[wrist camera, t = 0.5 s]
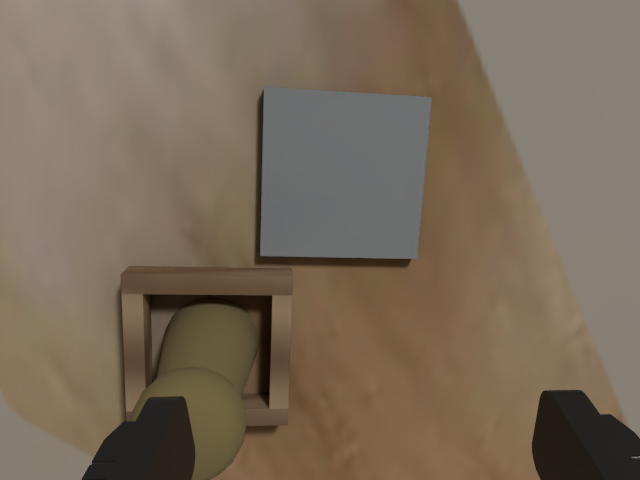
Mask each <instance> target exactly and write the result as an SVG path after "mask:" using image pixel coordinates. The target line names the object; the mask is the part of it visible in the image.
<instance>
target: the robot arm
mask: <svg viewBox="0 0 640 480" xmlns="http://www.w3.org/2000/svg"><path fill="white" fill-rule="evenodd" d="M532 453H533V459H534V464H535V467H536V470H537V473H538V475H539V477H540V479H541V480H640V439H639V437H638V436H637V435H636V434H635V433H634V432H633V431H632V430H631V429H629V428H628V427H627V426H625V425H624V424H623V423H621V422H620V421H619V420H617V419H616V418H615V417H613V416H612V415H611V414H605V415H600V414H599V412H598V411H597V409H596V408H595V407H594V405H593V404H592V403H591V401H590V400H589V398H588V397H587V396H586V395H585V393H584V392H582V391H581V390H549V391H543V392H542V394H541V396H540V400H539V406H538V412H537V417H536V423H535V429H534V435H533V441H532ZM194 466H195V444H194V438H193V433H192V428H191V423H190V418H189V413H188V407H187V403H186V400H185V398H184V397H183V396H171V397H150V398H148V399H147V401H146V402H145V404H144V406H143V408H142V410H141V412H140V414H139V416H138V418H137V419H136V421H124V422H123V423H122V424H121V425H120V426H118V427H117V428H116V429H115V430H114V431H113V432H112V433H111V434H110V435H109V436H108V437H107V438H106V439H105V440H104V441H103V443H102V445H101V446H100V448H99V450H98V452H97V453H96V455H95V457H94V459H93V460H92V465H90V466H89V467H88V469H87V471H86V472H85V474H84V476H83V478H82V480H191V479H192V476H193V472H194Z"/></svg>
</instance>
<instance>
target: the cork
mask: <svg viewBox="0 0 640 480" xmlns="http://www.w3.org/2000/svg"><path fill="white" fill-rule="evenodd" d="M258 343H259V339H258V333H257V327H256V326H255V324H254V322H253V320H252V318H251V316H250V315H249V314H248V313H247V312H246V311H245V310H244V309H243V308H241V307H240V306H239V305H237V304H235V303H233V302H231V301H228V300H226V299H219V298H213V297H211V298H204V299H197V300H195V301H193V302H191V303H189V304H186V305H184V306H183V307H182V308H181V309H180V310H179V311H178V312H176V313H175V314H174V315H173V317H172V318H171V320H170V322H169V324H168V326H167V328H166V332H165V337H164V343H163V348H162V353H161V358H160V363H159V369H158V374H157V379H156V380H155V381H154V382H153V383H151V384H150V385H149V386H148V387H147V388H146V389H145V390H144V391H143V392H142V394H141V396H140V398H139V399H138V401H137V403H136V405H135V407H134V409H133V411H132V413H131V416H130V421H136V419H137V418H138V416H139V414H140V412H141V410H142V408H143V406H144V404H145V402H146V401H147V399H148V398H150V397H171V396H183V397H184V398H185V400H186V403H187V407H188V413H189V418H190V423H191V428H192V433H193V438H194V444H195V466H194V472H193V476H192V479H191V480H210V479H212V478H214V477H216V476H217V475H219V474H220V473H221V472H222V471H224V470H225V469H226V468H227V467H228V466H229V465H230V464H231V463H232V462H233V460H234V458H235V457H236V455H237V453H238V451H239V450H240V448H241V446H242V444H243V441H244V436H245V430H246V420H247V419H246V413H245V407H244V403H243V400H242V398H241V396H242V393H243V390H244V388H245V385H246V382H247V379H248V376H249V374H250V371H251V368H252V365H253V362H254V360H255V357H256V354H257V348H258Z"/></svg>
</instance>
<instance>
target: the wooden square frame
mask: <svg viewBox="0 0 640 480" xmlns="http://www.w3.org/2000/svg"><path fill="white" fill-rule="evenodd" d="M292 288H293V275H292V269H270V268H207V267H145V266H129V267H128V268H127V269H126V270H125V271H124V272H123V273H122V274H121V295H122V320H123V345H124V371H125V396H126V421H130V416H131V413H132V411H133V409H134V407H135V405H136V403H137V401H138V399H139V398H140V396H141V394H142V392H143V391H144V390H145V389H146V388H147V387H148V386H149V385H150V384H151V383H153V373H152V336H151V298H150V294H174V295H272V310H271V346H270V383H269V394H244V395H242V396H241V398H242V400H243V403H244V407H245V413H246V419H247V420H246V426H278V425H288V398H289V370H290V343H291V315H292Z"/></svg>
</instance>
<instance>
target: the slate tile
mask: <svg viewBox="0 0 640 480" xmlns="http://www.w3.org/2000/svg"><path fill="white" fill-rule="evenodd" d="M431 100H432V97H420V96H404V95H387V94H371V93H355V92H339V91H322V90H306V89H290V88H274V87H264V105H263V151H262V197H261V242H260V256H283V257H335V258H388V259H417V254H418V243H419V232H420V221H421V210H422V199H423V188H424V177H425V166H426V155H427V144H428V133H429V122H430V111H431Z"/></svg>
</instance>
